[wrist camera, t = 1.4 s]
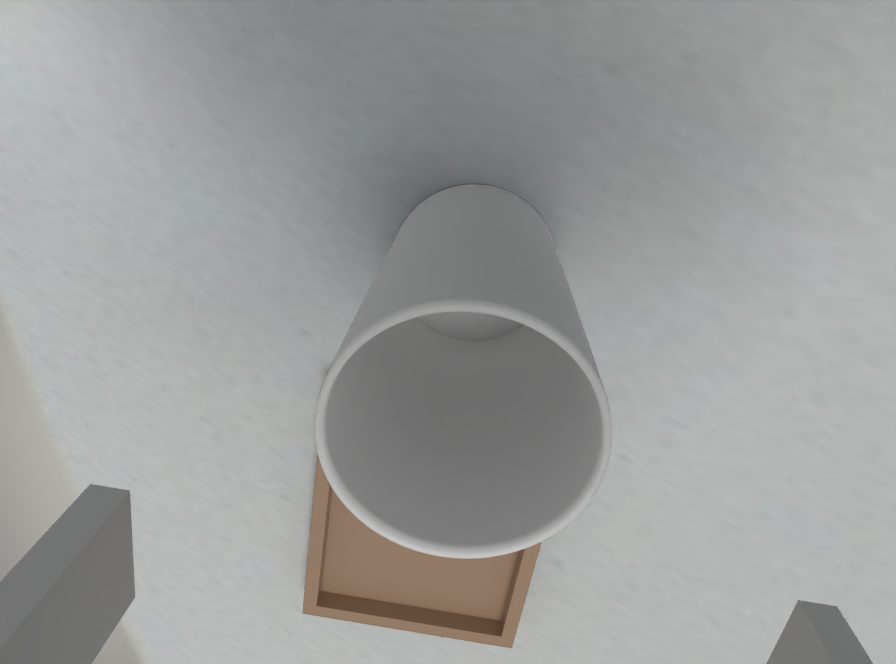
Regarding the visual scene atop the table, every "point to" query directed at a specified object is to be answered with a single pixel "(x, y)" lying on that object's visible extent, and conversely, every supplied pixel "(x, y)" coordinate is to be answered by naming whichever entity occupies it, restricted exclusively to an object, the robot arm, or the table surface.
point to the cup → (466, 386)
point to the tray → (409, 580)
